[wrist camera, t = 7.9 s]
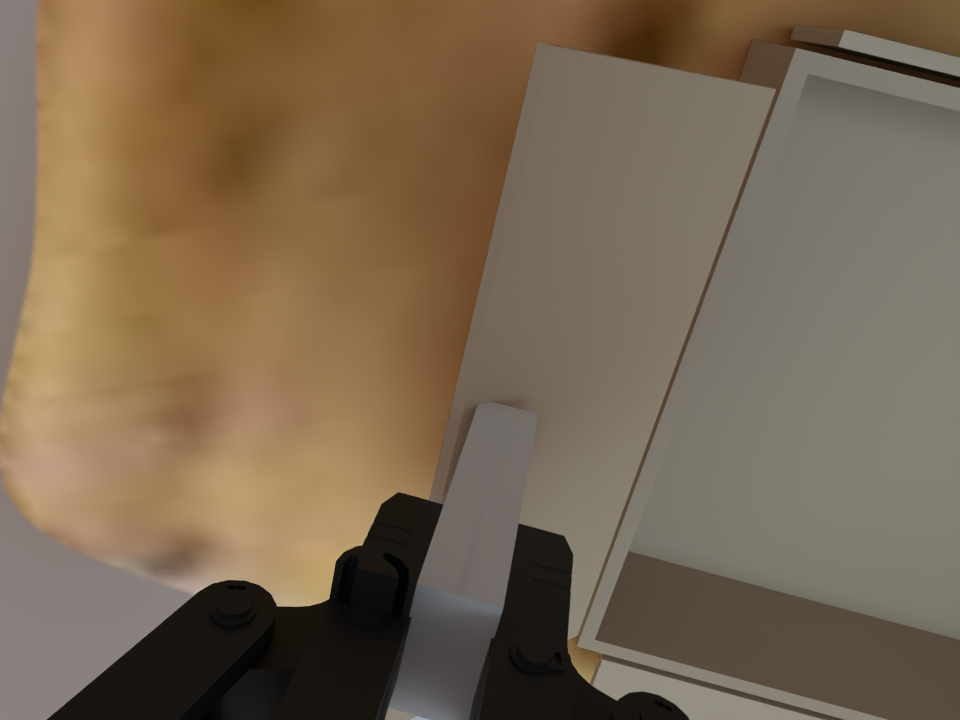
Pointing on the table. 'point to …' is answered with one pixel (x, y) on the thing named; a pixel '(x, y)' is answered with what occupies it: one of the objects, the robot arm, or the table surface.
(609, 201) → the flap
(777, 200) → the carton
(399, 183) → the table surface
